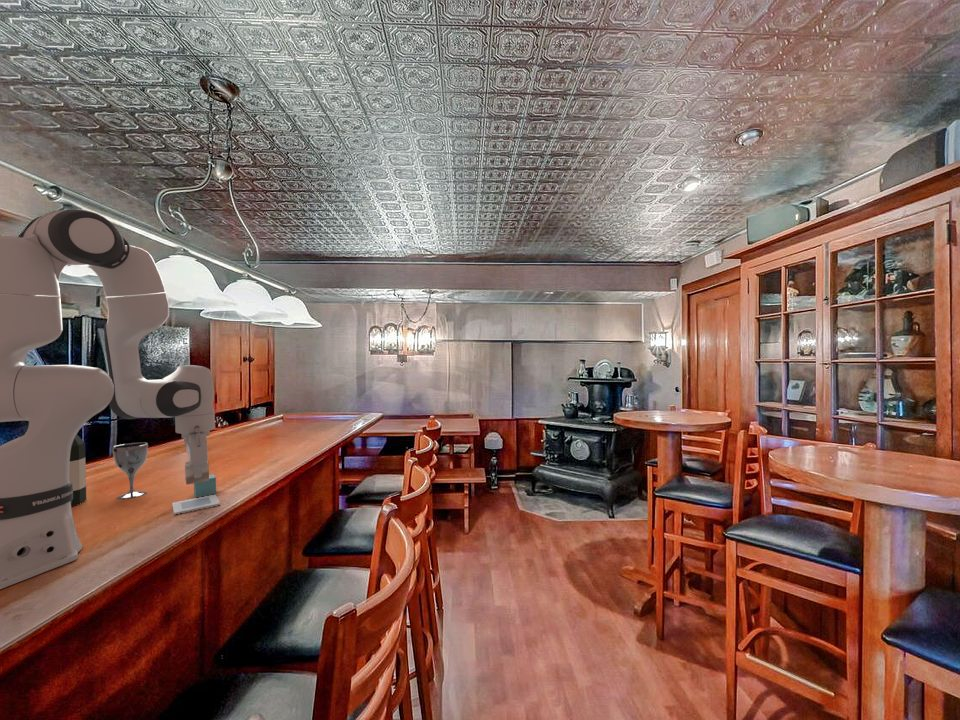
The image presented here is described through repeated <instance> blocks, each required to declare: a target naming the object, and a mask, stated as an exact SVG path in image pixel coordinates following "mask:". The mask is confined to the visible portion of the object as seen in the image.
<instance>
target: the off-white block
mask: <svg viewBox="0 0 960 720" xmlns="http://www.w3.org/2000/svg"><path fill="white" fill-rule="evenodd" d="M184 471H185V473H184V474H185V475H184V477H185V484H186V485H192V484H193V485H194V483H199V482H205V481H209V475H210V462H209V461H207V463H206V464H203V467H202V477H200V478H194V471H193V466H192V465H191V464H190V460H188V461H184Z"/></svg>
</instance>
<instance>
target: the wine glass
mask: <svg viewBox="0 0 960 720" xmlns="http://www.w3.org/2000/svg"><path fill="white" fill-rule="evenodd" d="M148 452H149V443H148V442H145V441H144V442H143V441H142V442H139V441H138V442H131V443H123V444H118V445H114V446H112V457H113V461H114V464H115V466H116V467H117V468H118V469H119V470H121V471H122V472H123V473H124V474H126V476H127V478H128V482H129V491H128V492H126V493H123V494H120V495H117V496H118V497H117V496H116V497H117V498H118V499H117V500H128V499H127V498H129V499H134V497H135V498H139V497H141V496H144V495H147V494H148V491H147V490H134V481H135V476H136V474H137V472H138V471H139V470H140V469H141V467H142V466H144V464H145V462H146V461H147V457H148V454H149V453H148Z"/></svg>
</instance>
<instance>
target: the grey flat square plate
mask: <svg viewBox="0 0 960 720" xmlns="http://www.w3.org/2000/svg"><path fill="white" fill-rule="evenodd" d="M171 504H172V505H171V506H172V512H173V515H174V516H176V514H178V515H181V514H180V513H182V514H186V512H187V513H191V512H190V511H192V512H195V511H194V510H196V511H199V510H198V509H201V510H204V509H203V508H206V509H210V508H209V507H211V508H214V507H213V506H215V507H219V506H218V505H220V506H221V502H220V500H219V498H218V497H217V493H216V494H214V495H209V496H204V497H199V498H195V497H194V498H188V499H185V500H180V501H175V502H172V503H171Z"/></svg>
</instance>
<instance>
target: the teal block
mask: <svg viewBox="0 0 960 720" xmlns="http://www.w3.org/2000/svg"><path fill="white" fill-rule="evenodd" d="M216 478H217V477H216V475H215V474H214V473H212V474H209V481H205V482H199V483H193V491H194V492H193V495H194V498H195V497H201V496H207V495H212V494H216V495H217V479H216Z"/></svg>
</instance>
